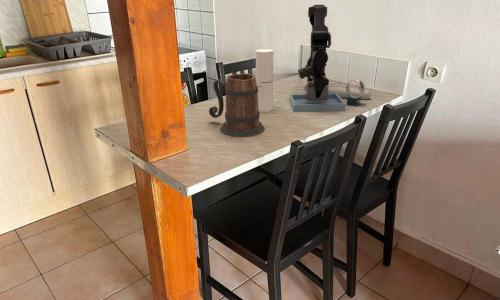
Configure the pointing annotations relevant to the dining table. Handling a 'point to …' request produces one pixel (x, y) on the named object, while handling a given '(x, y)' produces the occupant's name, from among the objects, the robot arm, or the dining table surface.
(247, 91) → the tankard
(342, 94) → the tube
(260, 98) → the cylindrical container
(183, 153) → the dining table surface
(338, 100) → the tray
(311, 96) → the caddy
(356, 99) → the watch
